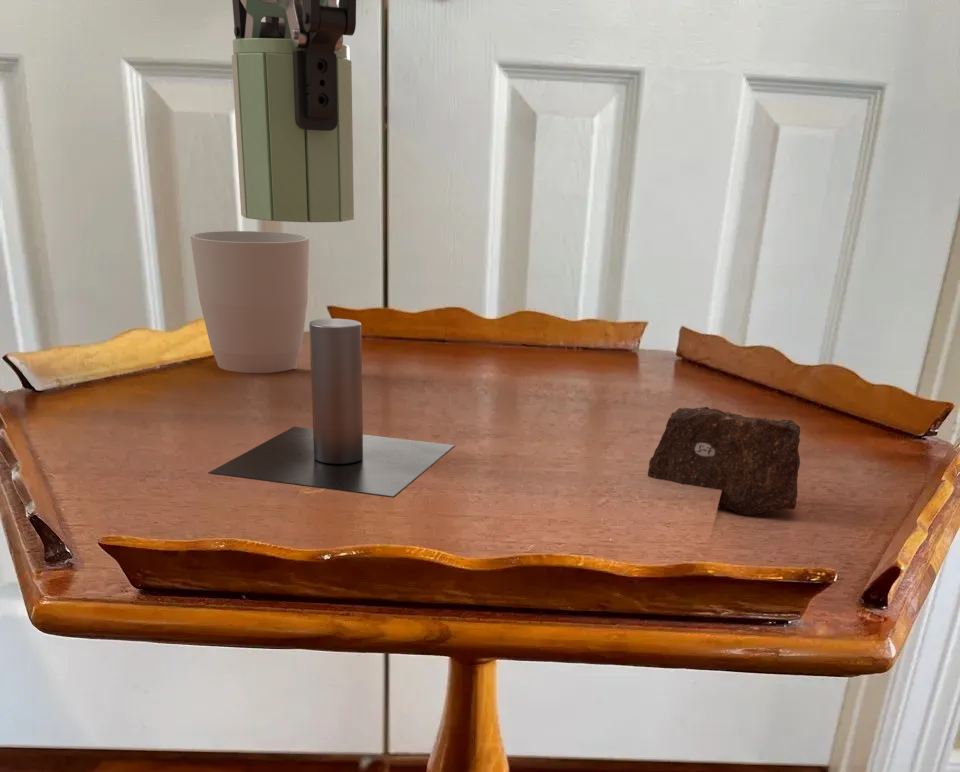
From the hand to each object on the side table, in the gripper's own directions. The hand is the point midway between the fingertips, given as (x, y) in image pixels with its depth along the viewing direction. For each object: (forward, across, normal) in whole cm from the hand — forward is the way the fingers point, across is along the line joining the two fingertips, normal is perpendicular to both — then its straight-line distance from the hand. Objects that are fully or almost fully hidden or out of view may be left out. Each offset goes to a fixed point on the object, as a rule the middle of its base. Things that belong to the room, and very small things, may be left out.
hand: (294, 128), depth 59 cm
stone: (+17, +24, +14) cm, 33 cm away
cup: (+17, -12, +1) cm, 21 cm away
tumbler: (+5, 0, 0) cm, 5 cm away
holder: (+17, +13, -3) cm, 21 cm away
